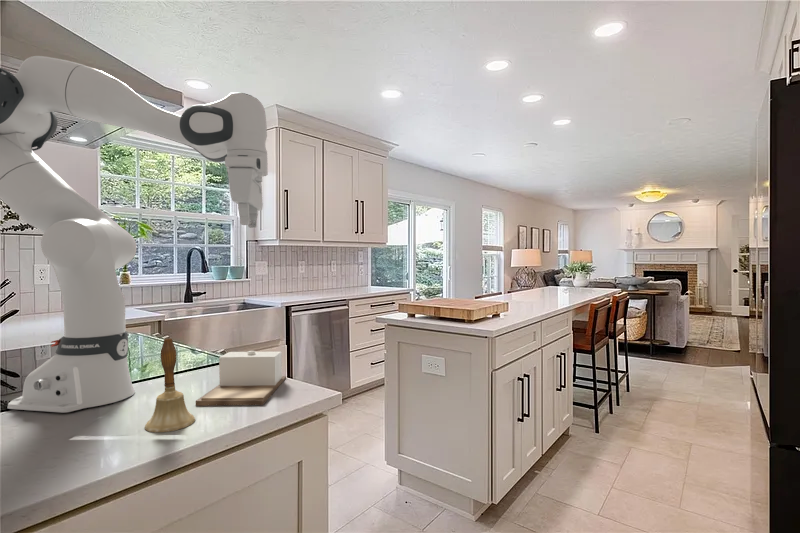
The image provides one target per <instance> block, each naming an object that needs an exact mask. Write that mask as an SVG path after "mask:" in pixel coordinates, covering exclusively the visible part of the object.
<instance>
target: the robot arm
mask: <svg viewBox="0 0 800 533" xmlns="http://www.w3.org/2000/svg"><path fill="white" fill-rule="evenodd" d="M55 113H62V114H63V113H64V114H65V115H66V114H67V115H69V116H71V117H75V118H79V119H82V120H86V121H90V122H94V123H95V122H96V123H99V124H103V125H108V126H109V125H110V126H115V127H121V128H124V129H125V128H126V129H130V130H133V131H134V130H135V131H140V132H143V133H147V134H150V135H154V136H157V137H161V138H163V139H166V140H169V141H173V142H176V143H178V144H180V145H181V144H182V145H185V146H187V147H189V148H191V149H193V150H195V151H196V152H197V153H198V154H200V155H201V156H202V157H203V158H205V159H207V161H210V162H214V163H221V162H224V165H225V168H226V171H227V174H228V184H229V185H228V187H229V195H230V198H231V200H232V202H233V203H235V204H237V205H238V206H237V209H238V214H239V215H238V216H239V220H240V221H239V222H240V225H242V226H247V227H248V228H250V229H256V228H257V227H258V215H259V211H260V212H261V211H262V210H263V204H264V203H263V188H262V182H263V177H266V176H268V172H269V169H268V151H267V148H266V141H267V137H268V132H267V131H268V129H267V115H266V111H265V106H264V105H263V103H262V102H261V101H260V100H259V99H258V98H257V97H254V96H253V95H251V94H248V93H244V92H230V93H228V95H227V96H225V97H224V98H222V99H220V100H217V101H214V102H210V103H205V104H193V105H191V106H190V107H188V108H186V109H185V110H184V111H183V112H182V114H181V115H180V114H176V113H174V112H170V111H168V110H165V109H162V108H160V107H157V106H156V105H154V104H152V103H151V102H149V101H148V100H146V99H145V98H143V97H142V96H141V95H139V94H138V93H137V92H135V91H134V90H133V89H132V88H131V87H129V85H127V84H126V83H124V82H123V81H121V80H120V79H118V78H116V77H114V76H112V75H110V74H109V73H106V72H104V71H103V70H99V69H97V68H94V67H91V66H87V65H85V64H82V63H78V62H75V61H70V60H67V59H61V58H57V57H50V56H43V55H34V56H32V55H31V56H30V57H29V56H28V57H27V58H26V59H25V60H23V61H22V63H21V64H20V65H19V68H18V71H17V72H15V73H13V74H12V72H10V71H8V70H7V69H5V68H2V67H0V200H1V201H2V202H3V203H5V205H7V207H9V208H10V209H11V210H12V211H13V212H14V213H15V214H16V215H17V216H18V217H20V218H21V219H22V220H23V221H24V222H26V223H27V224H28V225H30V226H32V227H34V228H35V229H38V230H40V231H41V232H42V233H43V234H42V236H41V240H40V247H41V248H40V249H41V251H42V254H43V256H44V257H45V258H46V260H47V261H49V263H50V264H51V265H52V268H53V271H54V273H55V277H56V280H57V282H58V285H59V288H60V289H59V290H60V293H61V297H62V305H63V336H62V337H60V338H59V339H57V340H52V341H50V343H53V344H51V345H50V347H51V348H53V347H57V348H56V349H55V350H56V351H55V354H54V355H53V356H52V357H50V358H48V359H47V360H46V361H45V362H43V363H42V364H41V365H40V366H38V367H36V369H34V370H32V371H31V372H30V373H29V374H28V375H27V376H26V377H25V380H24V382H23V387H22V395H20V396H19V397H16V398H13V399H12V400H11V401H10V402H8V403H7V409H9V410H22V411H23V410H24V411H35V412H48V413H49V412H50V413H62V414H63V413H71V412H74V411H79V410H82V409H87V408H94V407H98V406H105V405H108V404H112V403H117V402H119V401H120V402H121V401H123V400H126V399H127V398H130V397H131V396H133V395H135V393H136V390H135V388H134V385H133V383H132V379H131V374H130V370H129V362H128V353H129V333H128V331H127V330H126V298H125V294H124V293H123V291H122V289H121V286H120V284H119V280H118V276H117V272H116V270H118V269H120V268H122V267H124V266H126V265H128V263H130V262H132V260H133V259H134V257H135V256H136V253H137V243H136V242H137V241H136V240H135V238H134V237H133V236H132V235H131V233H130V232H128V231H127V229H124V228H123V227H122V226H120V225H119V224H118V223H117V222H116V221H114V220H113V219H112V218H111V217H110V216H108V215H107V214H106V213H105V212H103V211H102V210H101V209H100V208H98V207H97V206H95V204H93V203H92V202H91V201H89V200H88V199H86V198H85V197H84V196H82V195H81V194H79V193H78V191H76V190H75V189H74V188H72V186H71V185H69V184H68V183H67V182H66V181H65V180H64V179H63V178H62V177H61V176H60V175H59V174H58V173H57V172H56V171H54V170H53V169H52V168H51V167H50V166H49V165H48V164H47V163H46V162H45V161H44V160H43V159H41V158H40V157H39V156H38V155H37V154H36V152H34V151H38V150H40V149H41V148H43V146H44V145H45V144H46V143H47V142H48V141H49V140H50V139H51V138H52V137H53V136H54V135H55V133H56V131H57V128H58V117H57V115H56V114H55Z"/></svg>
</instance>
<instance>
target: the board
mask: <svg viewBox="0 0 800 533" xmlns="http://www.w3.org/2000/svg"><path fill="white" fill-rule="evenodd" d="M285 378H286V379H287V376H286V375H285V376H283V375H282V379H281V380H280V381H279V382H278V383H277V384H276V385H255V386H220V383H219V384H218V385H216V386H215V387H214V388H212V389H211V390H209V391H208V392H206V393H205V394H204V395H201V397H198V399H196V400H195V407H197V406H198V407H199V406H200V407H202V406H205V407H206V406H207V407H208V406H210V407H211V406H213V407H214V406H215V407H216V406H263V405H264V404H265V403H267V401H268V400H269V399H270V398H271V397H272V396H273V394H274V393H275V392H276V390H278V389H279V387H280V386H281V385H282V384H283V382H284V381H285V380H286V379H285Z"/></svg>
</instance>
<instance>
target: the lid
mask: <svg viewBox="0 0 800 533" xmlns="http://www.w3.org/2000/svg"><path fill="white" fill-rule="evenodd" d="M282 355H283V352H282V351H256V350H248V351H228V352H227V353H224V354H223V355H221V356H219V358H218V362H219V364H218V367H219V370H218V371H219V384H220V386H255V385H276V384H277V383H278V382H279V381H280V380H281V379H282V376H283V360H282V358H283V356H282Z"/></svg>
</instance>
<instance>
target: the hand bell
mask: <svg viewBox="0 0 800 533" xmlns="http://www.w3.org/2000/svg"><path fill="white" fill-rule="evenodd" d="M160 362H161V366H162V369H163V373H164V384H163V385H164V391H163V392H162V393H160V394H159V395H157V397H156V399H155V407H154V411H153V413H152V416H151V417H150V419H149V420H148V421H147V422H146V423H145V425H144V430H145V431H147V432H150V433H169V432H170V433H171V432H175V431H178V430H182V429H185V428H187V427H189V426H191V425H192V424H193V423H195V421H196V417H195V415H193V414H192V413H191V412H190V411H189V410H188V407H187V406H186V402H185V398H184V397H185V396H184V393H183V392H182V391H178V390H176V384H175V368H176V364H177V350H176V346H175V344H174V341H173V338H172V337H167V338H164V339H163V343H162V347H161V349H160Z"/></svg>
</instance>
